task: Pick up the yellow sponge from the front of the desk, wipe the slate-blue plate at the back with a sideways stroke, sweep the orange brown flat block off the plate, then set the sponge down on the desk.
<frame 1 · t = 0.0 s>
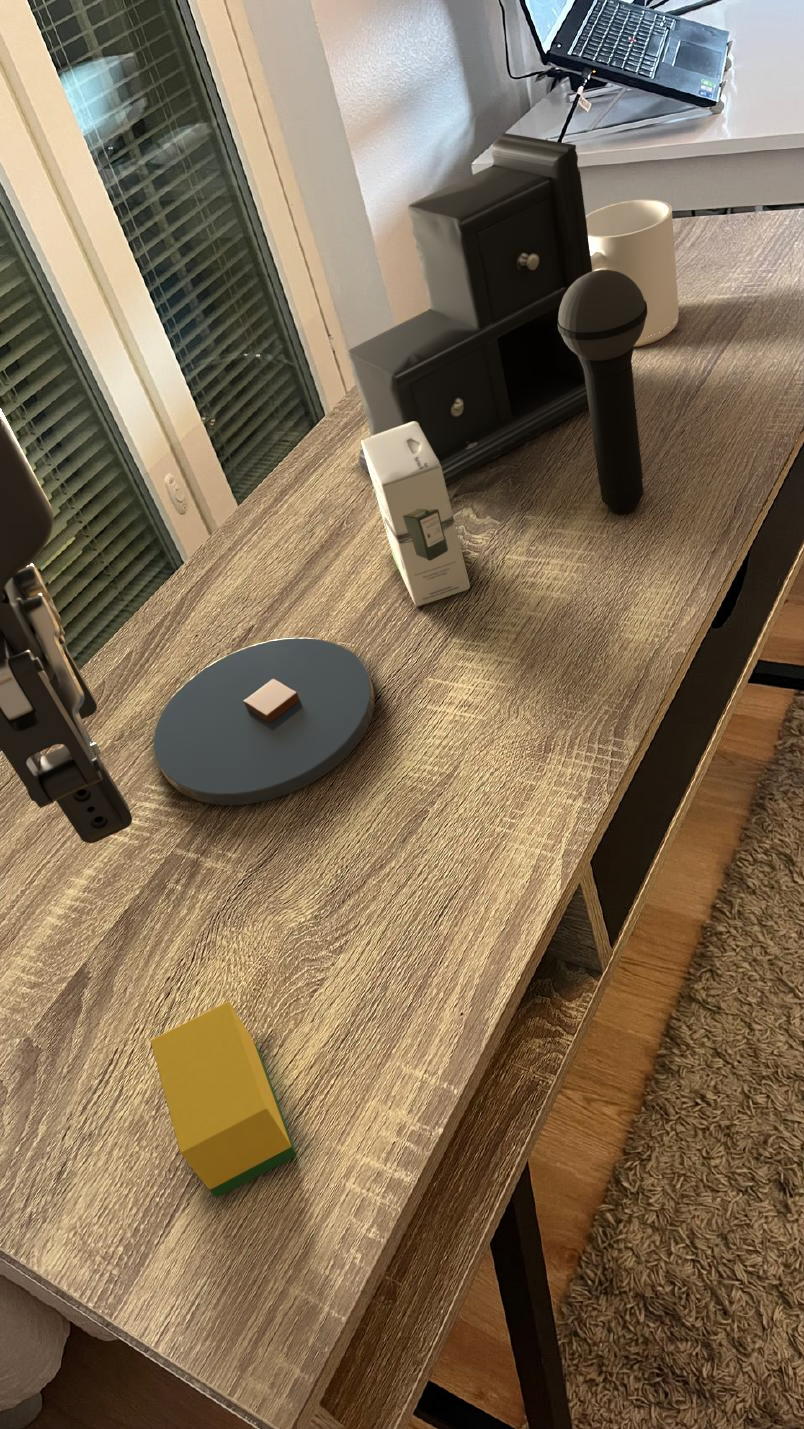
hand: (92, 770, 48), 21 cm above the table, tool pointing down, fingers open, 8 cm apart
orange brown flat block: (273, 704, 80), point 1 cm above the table, touching plate
mug: (629, 337, 114), on the table
small black cabinet: (484, 435, 106), on the table
sponge: (238, 1120, 57), on the table
microphone: (624, 509, 91), on the table
plate: (266, 721, 81), on the table
ink box: (431, 574, 91), on the table
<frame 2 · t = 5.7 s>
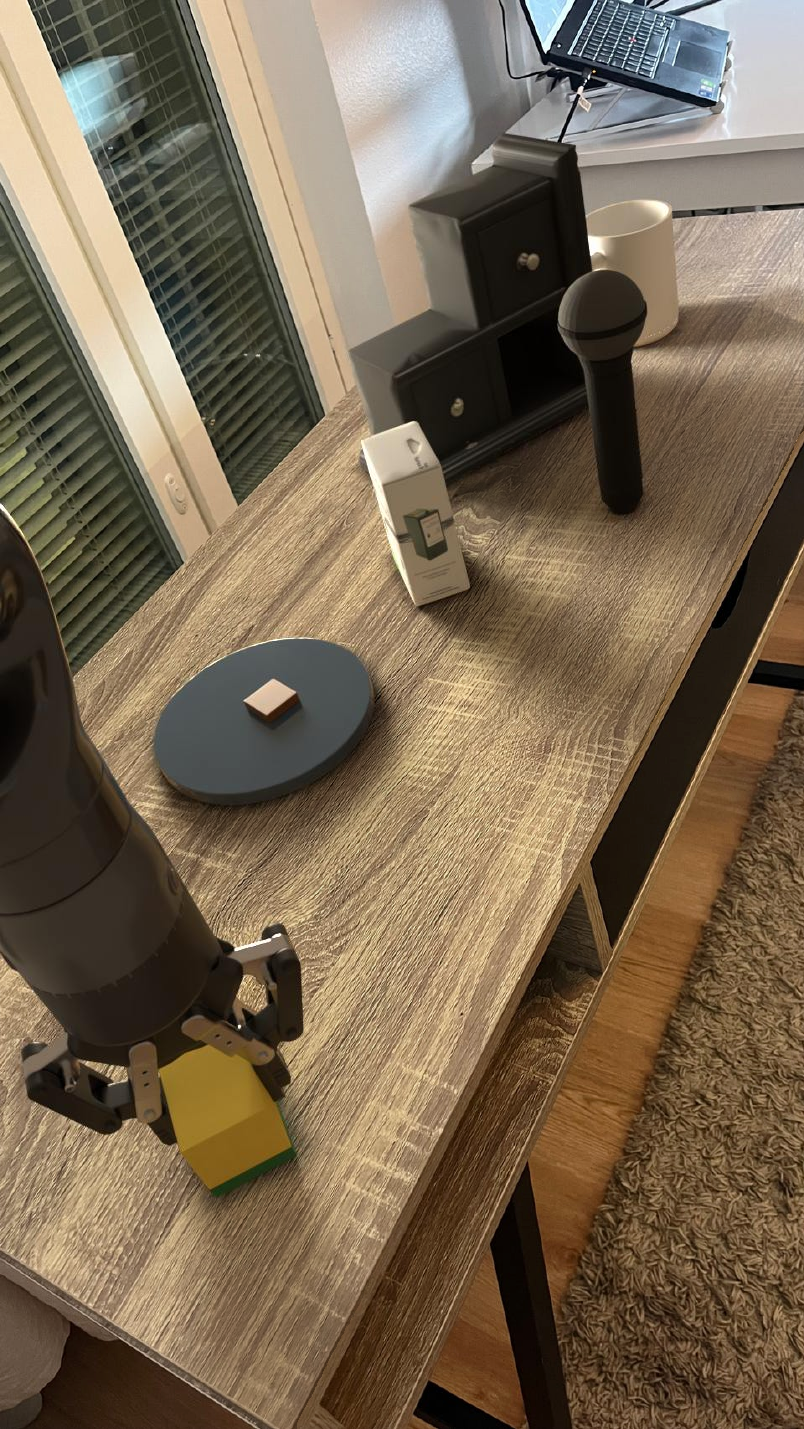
hand: (230, 1108, 56), 1 cm above the table, tool pointing down, fingers closed on sponge, 4 cm apart
sponge: (238, 1120, 57), on the table, touching gripper
everything else where it was.
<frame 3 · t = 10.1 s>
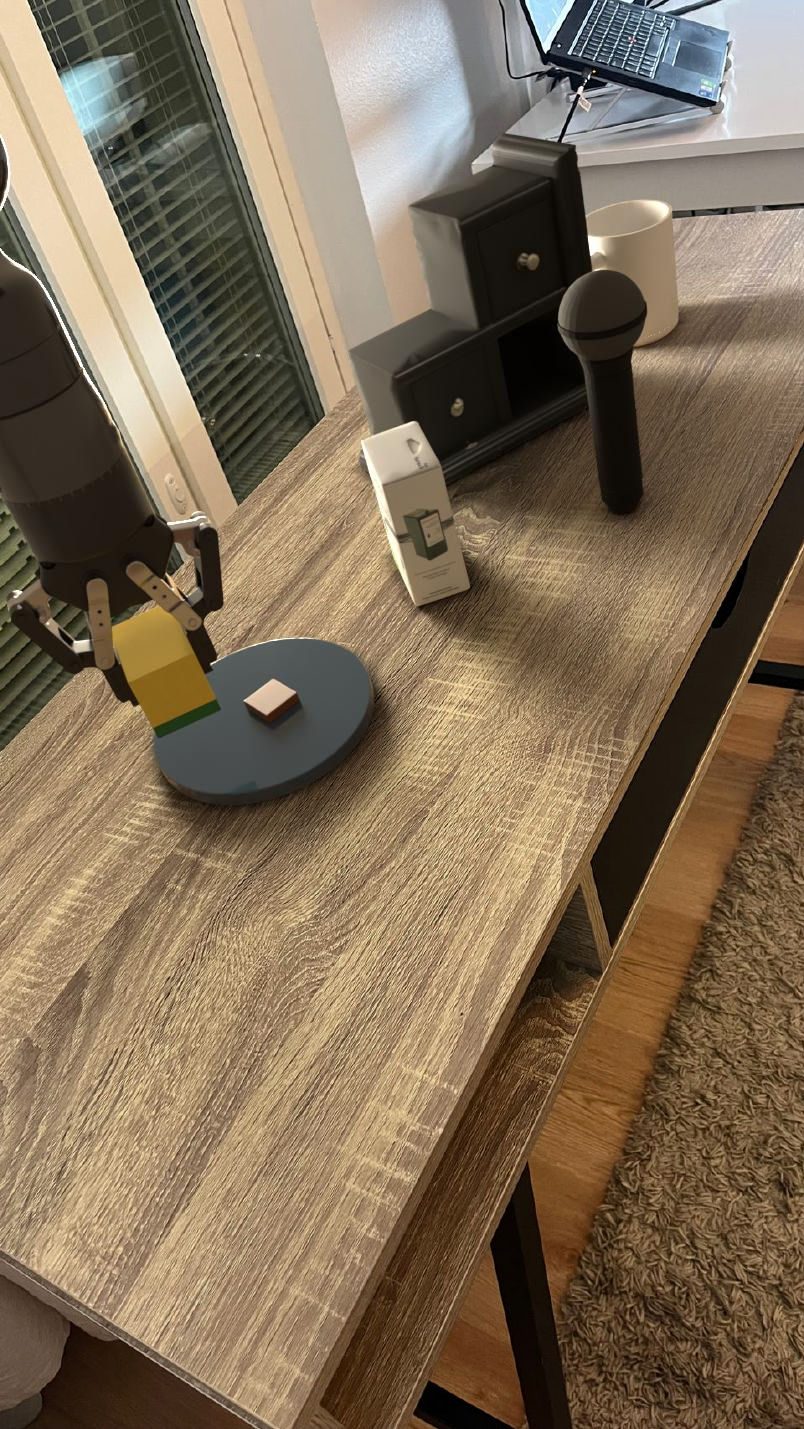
hand: (170, 682, 72), 9 cm above the table, tool pointing down, fingers closed on sponge, 4 cm apart
sponge: (178, 696, 73), point 8 cm above the table, touching gripper
everything else where it was.
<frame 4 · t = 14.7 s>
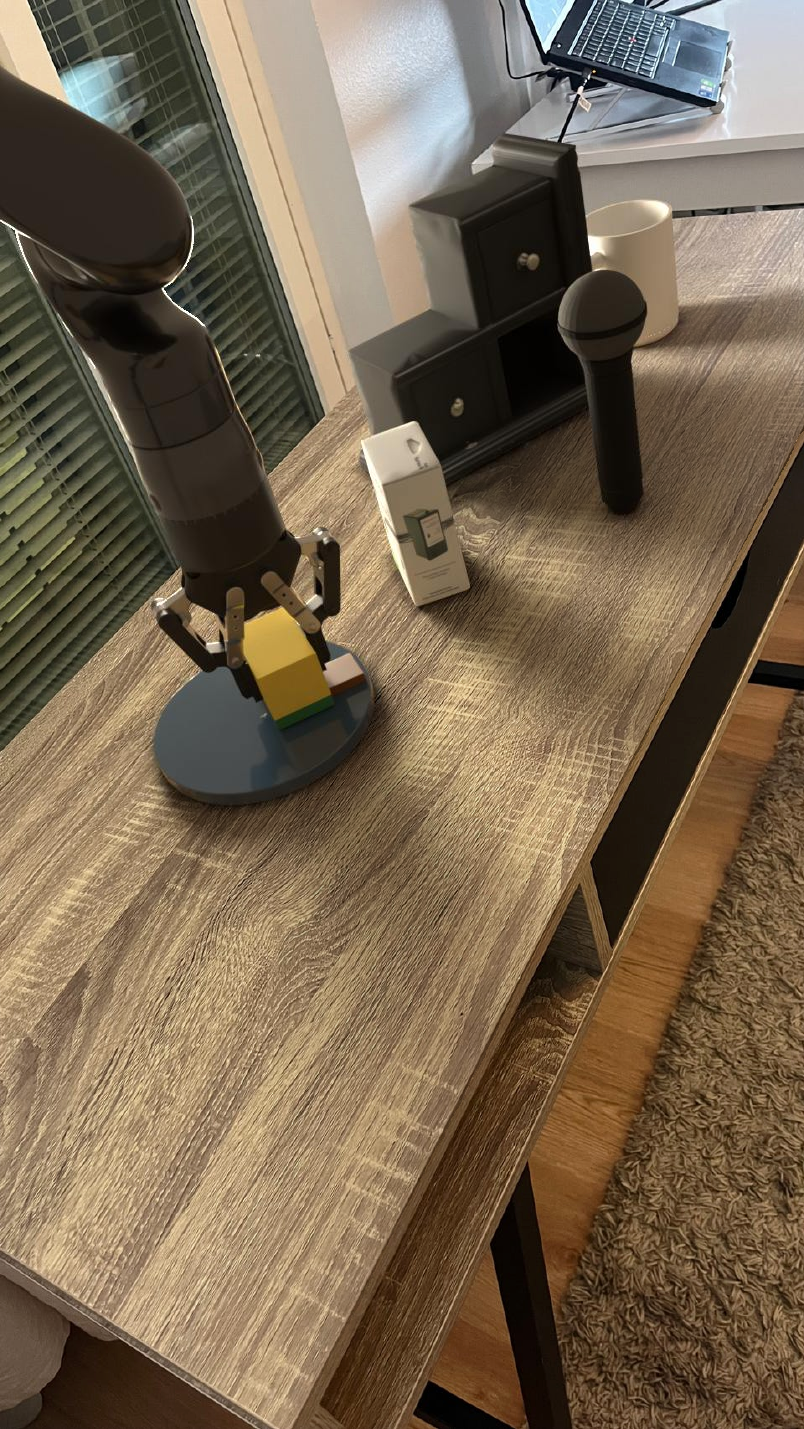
hand: (287, 680, 80), 3 cm above the table, tool pointing down, fingers closed on sponge, 4 cm apart
orange brown flat block: (341, 678, 81), point 1 cm above the table, touching plate
sponge: (292, 692, 81), point 1 cm above the table, touching gripper
everything else where it was.
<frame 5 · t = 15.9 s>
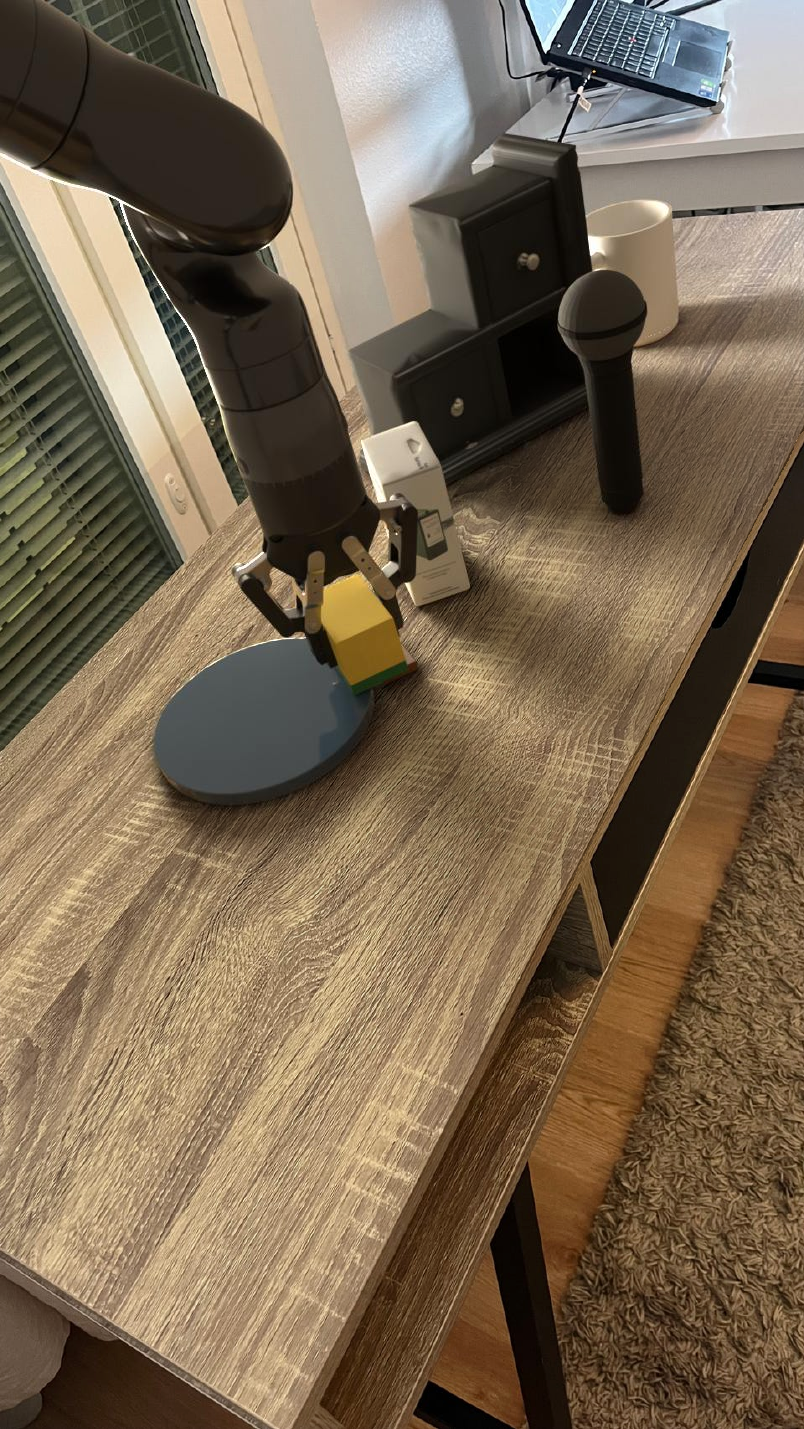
hand: (360, 646, 81), 3 cm above the table, tool pointing down, fingers closed on sponge, 4 cm apart
orange brown flat block: (393, 667, 82), on the table
sponge: (365, 659, 82), point 1 cm above the table, touching gripper
everything else where it was.
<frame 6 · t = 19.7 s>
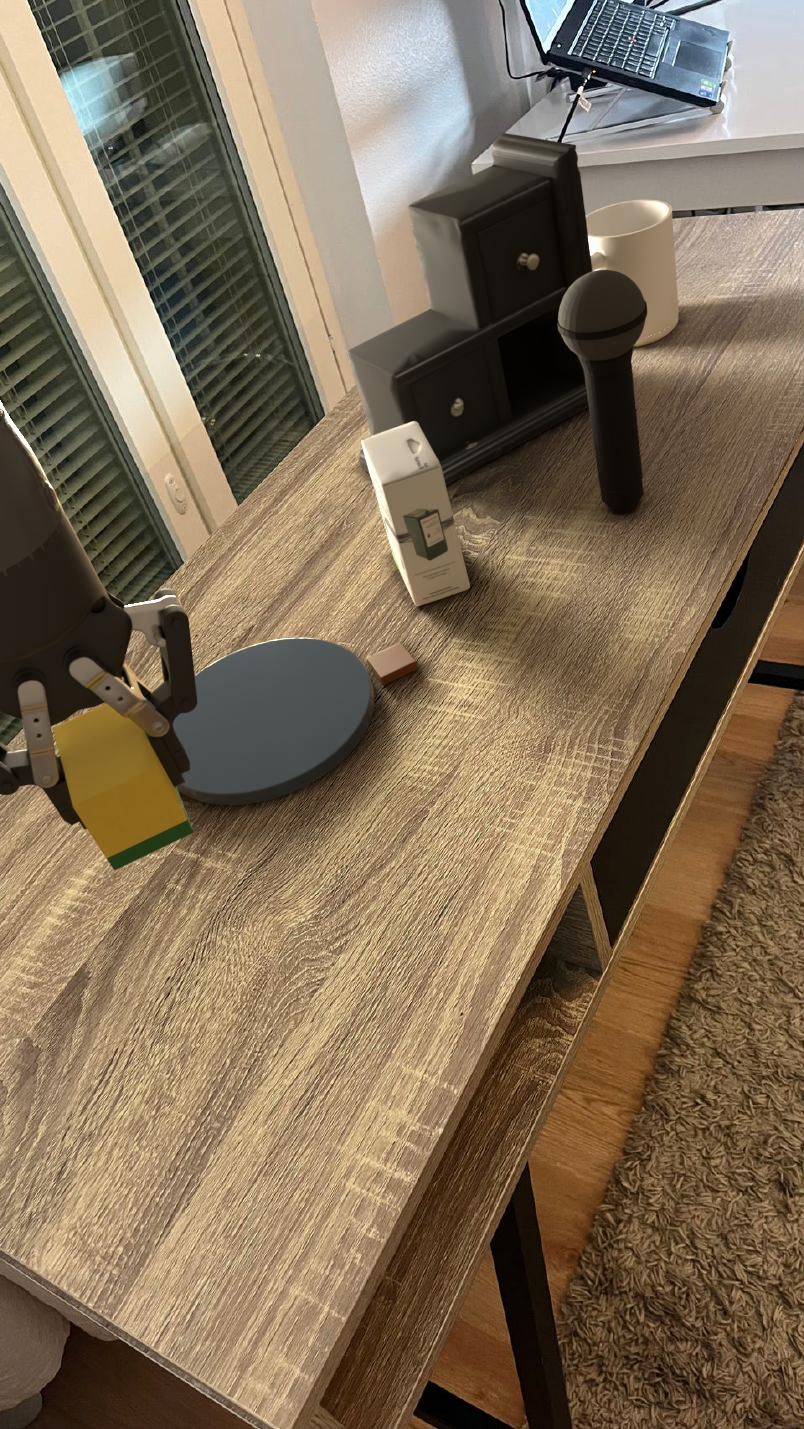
hand: (132, 796, 58), 13 cm above the table, tool pointing down, fingers closed on sponge, 4 cm apart
sponge: (141, 810, 59), point 12 cm above the table, touching gripper
everything else where it was.
when the fingers open (1 cm above the table, at t = 22.9 s): sponge stays where it is, on the table.
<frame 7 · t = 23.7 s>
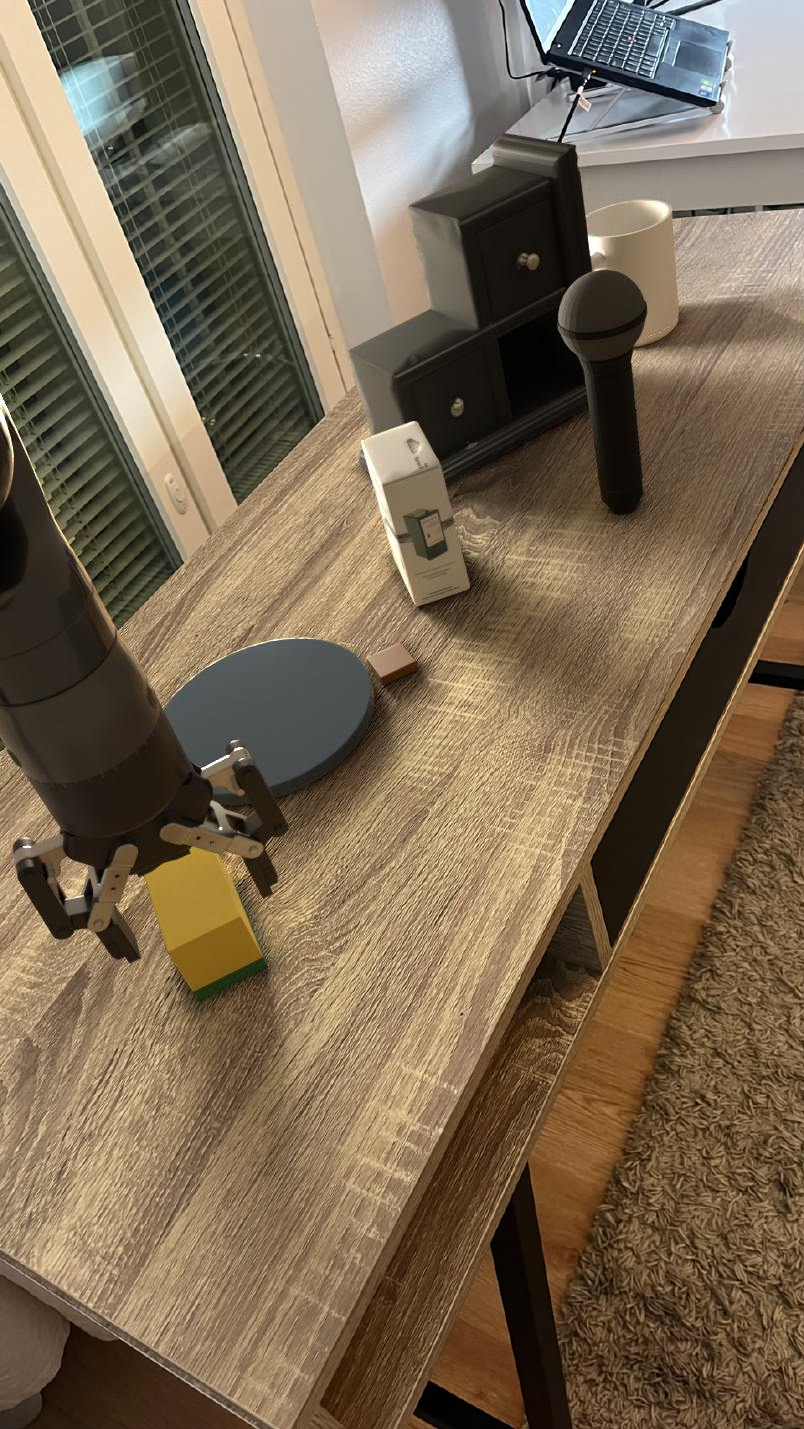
hand: (199, 919, 65), 3 cm above the table, tool pointing down, fingers open, 8 cm apart
sponge: (218, 942, 66), on the table
everything else where it was.
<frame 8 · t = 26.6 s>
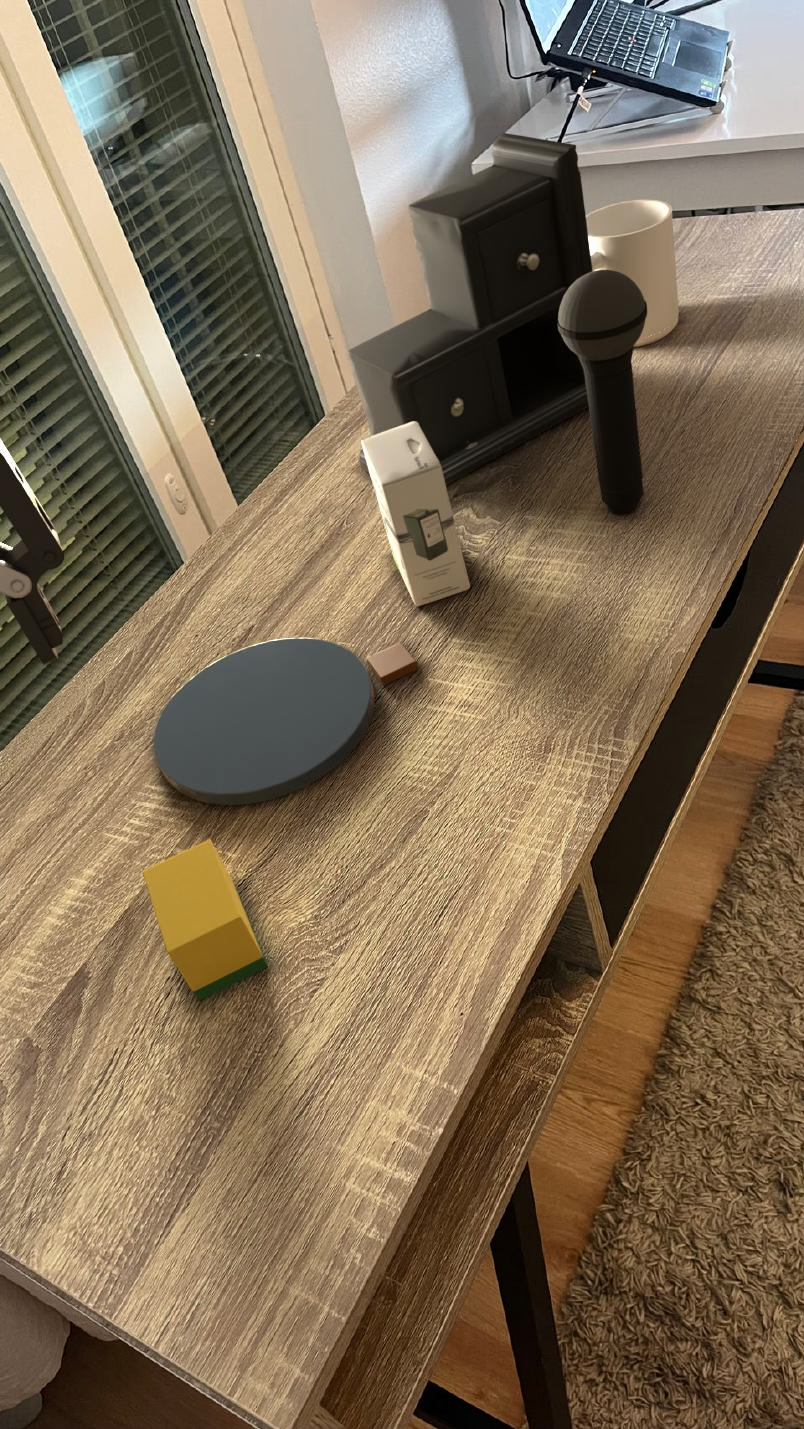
nothing on the table moved.
at the end: orange brown flat block on the table; sponge inside the target area (0.2 cm from its centre), on the table; sponge tilted 0° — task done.
